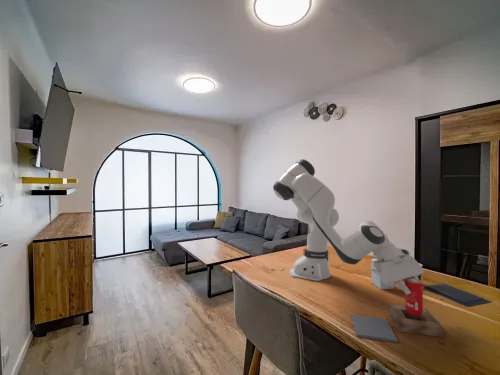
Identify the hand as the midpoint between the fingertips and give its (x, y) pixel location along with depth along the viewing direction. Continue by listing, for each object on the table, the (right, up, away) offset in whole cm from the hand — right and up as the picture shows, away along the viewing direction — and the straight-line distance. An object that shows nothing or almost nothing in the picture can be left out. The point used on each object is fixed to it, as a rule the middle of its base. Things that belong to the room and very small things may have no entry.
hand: (415, 291), depth 85 cm
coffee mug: (+23, -11, +35) cm, 44 cm away
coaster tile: (-17, -12, -2) cm, 21 cm away
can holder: (-1, -12, 0) cm, 12 cm away
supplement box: (+6, -12, +32) cm, 34 cm away
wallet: (+33, -12, +22) cm, 42 cm away
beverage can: (0, -8, +1) cm, 8 cm away
